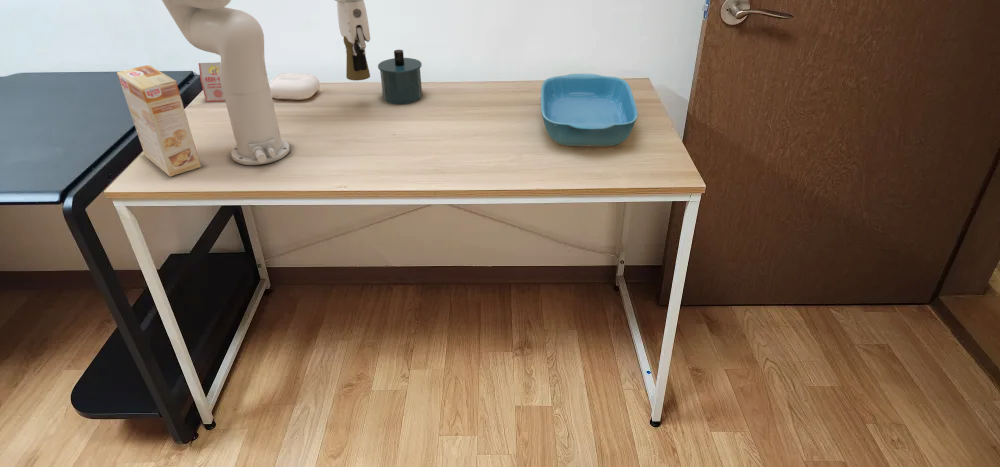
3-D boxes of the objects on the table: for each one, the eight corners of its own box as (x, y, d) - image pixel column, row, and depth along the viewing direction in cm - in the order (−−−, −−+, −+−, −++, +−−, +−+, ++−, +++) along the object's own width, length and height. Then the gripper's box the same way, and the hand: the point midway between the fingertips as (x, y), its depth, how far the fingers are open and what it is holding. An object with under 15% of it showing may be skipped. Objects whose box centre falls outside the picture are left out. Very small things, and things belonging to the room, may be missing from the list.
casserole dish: (540, 96, 174) (541, 70, 170) (623, 97, 173) (626, 71, 169) (539, 156, 143) (540, 126, 139) (640, 158, 142) (644, 128, 138)
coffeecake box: (202, 167, 140) (177, 80, 129) (169, 177, 136) (140, 89, 125) (175, 146, 149) (150, 63, 138) (143, 155, 145) (114, 71, 134)
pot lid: (428, 71, 168) (427, 53, 165) (387, 78, 163) (385, 60, 161) (411, 59, 176) (410, 42, 174) (372, 66, 172) (370, 48, 169)
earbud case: (279, 88, 180) (275, 69, 177) (324, 89, 179) (321, 70, 176) (264, 102, 172) (260, 82, 169) (311, 103, 171) (308, 83, 168)
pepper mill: (341, 78, 164) (335, 34, 158) (356, 71, 168) (351, 28, 162) (360, 81, 161) (355, 37, 155) (375, 75, 166) (370, 31, 160)
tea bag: (210, 96, 175) (200, 60, 170) (235, 96, 176) (226, 60, 170) (206, 102, 172) (196, 65, 167) (232, 101, 173) (223, 64, 167)
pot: (428, 99, 172) (426, 68, 168) (391, 107, 168) (388, 75, 163) (413, 87, 180) (410, 57, 175) (377, 94, 176) (374, 64, 171)
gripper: (375, -3, 149) (383, 74, 159) (352, -16, 162) (360, 57, 171) (344, 0, 146) (353, 79, 156) (323, -13, 158) (333, 61, 168)
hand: (357, 67), depth 163 cm, fingers closed on pepper mill, 4 cm apart
